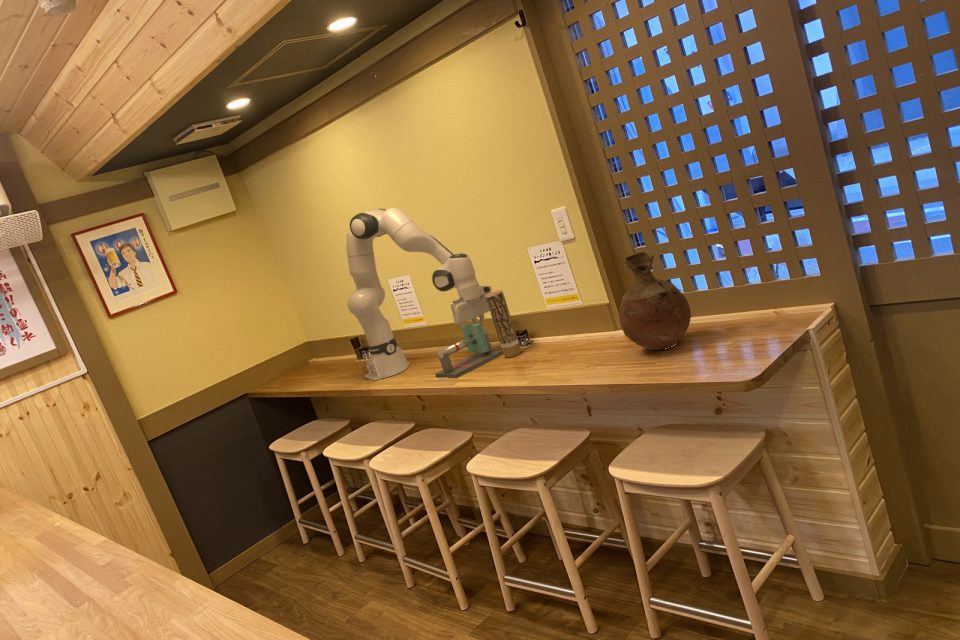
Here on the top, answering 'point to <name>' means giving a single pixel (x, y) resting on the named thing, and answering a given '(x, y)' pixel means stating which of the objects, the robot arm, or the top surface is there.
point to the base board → (470, 364)
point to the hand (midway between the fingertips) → (480, 327)
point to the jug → (652, 307)
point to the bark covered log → (503, 323)
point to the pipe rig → (445, 353)
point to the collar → (479, 335)
